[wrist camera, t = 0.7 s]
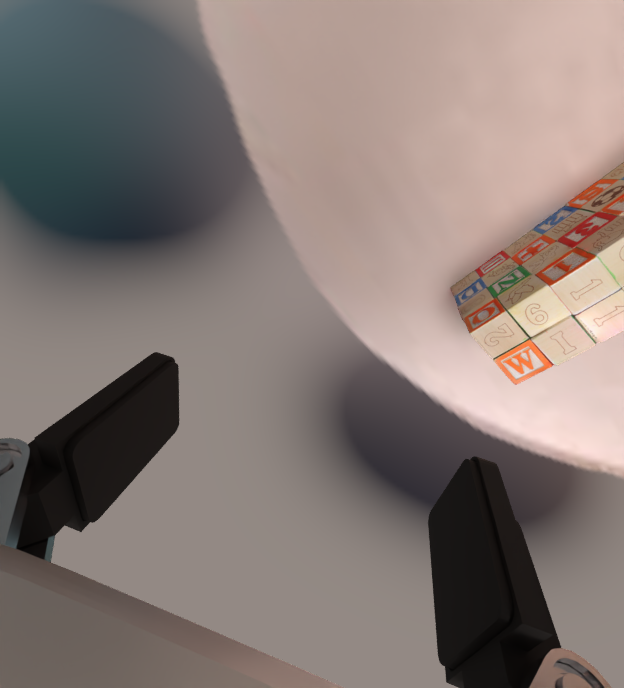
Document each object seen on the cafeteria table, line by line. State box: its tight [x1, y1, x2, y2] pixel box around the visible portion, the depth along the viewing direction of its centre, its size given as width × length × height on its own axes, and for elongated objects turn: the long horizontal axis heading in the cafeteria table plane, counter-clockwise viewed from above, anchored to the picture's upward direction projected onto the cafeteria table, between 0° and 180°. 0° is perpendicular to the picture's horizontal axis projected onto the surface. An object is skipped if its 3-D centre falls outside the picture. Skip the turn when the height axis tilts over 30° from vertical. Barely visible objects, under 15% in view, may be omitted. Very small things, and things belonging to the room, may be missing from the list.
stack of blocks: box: [451, 163, 624, 385], centre depth 26 cm, size 21×6×12 cm, turn 136°
